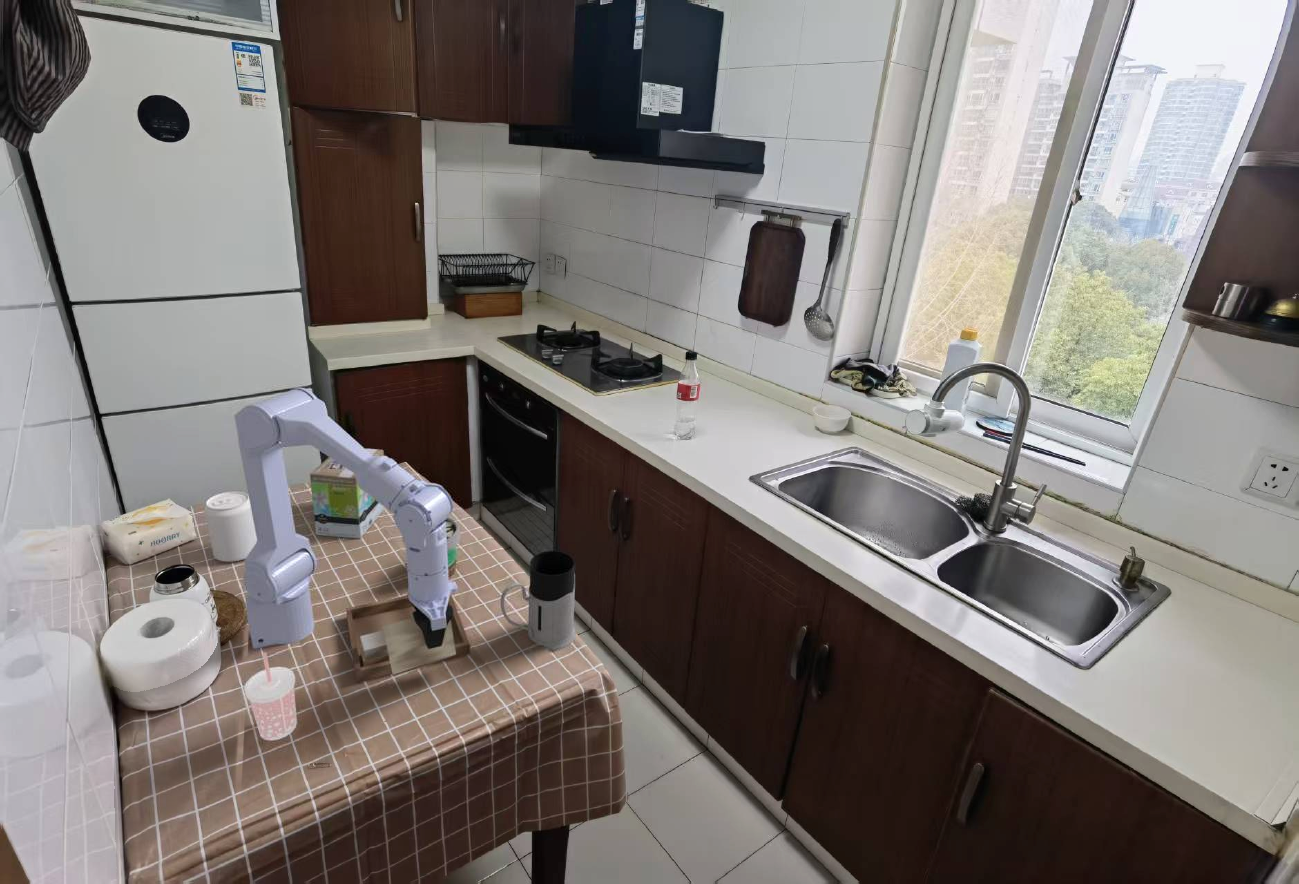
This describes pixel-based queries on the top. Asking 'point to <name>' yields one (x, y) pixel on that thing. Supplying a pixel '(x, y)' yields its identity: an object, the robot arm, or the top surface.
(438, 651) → the cream chamfered post
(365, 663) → the offcut lower
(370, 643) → the offcut upper
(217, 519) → the beverage can
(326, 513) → the tea box
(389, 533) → the top surface
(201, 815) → the top surface
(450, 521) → the food container
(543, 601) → the grey mug
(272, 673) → the beverage cup
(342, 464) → the robot arm
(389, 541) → the top surface
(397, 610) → the crate
